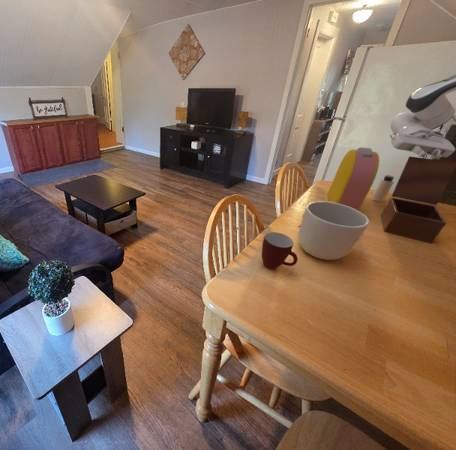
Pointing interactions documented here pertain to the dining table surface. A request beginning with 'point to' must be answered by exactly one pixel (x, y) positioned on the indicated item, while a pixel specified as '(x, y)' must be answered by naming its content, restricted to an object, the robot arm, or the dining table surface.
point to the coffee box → (412, 220)
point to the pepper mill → (383, 188)
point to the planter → (331, 229)
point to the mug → (277, 250)
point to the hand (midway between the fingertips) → (430, 156)
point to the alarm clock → (354, 178)
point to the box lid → (423, 179)
